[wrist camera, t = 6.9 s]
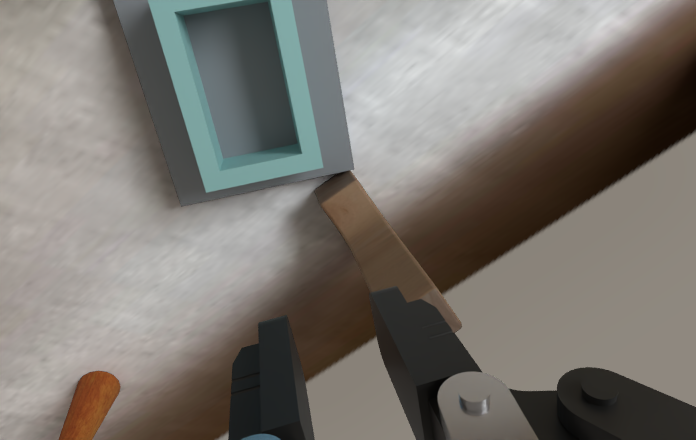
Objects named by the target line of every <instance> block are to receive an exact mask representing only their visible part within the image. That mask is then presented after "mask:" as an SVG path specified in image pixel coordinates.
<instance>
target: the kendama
mask: <svg viewBox="0 0 696 440" xmlns="http://www.w3.org/2000/svg"><path fill="white" fill-rule="evenodd" d="M119 391H120V384H119V381H118V380H117V378H116V377H115V376H114V375H112V374H109V373H107V372H102V371H95V372H90V373H88V374H86V375H84V376H83V377H82V378H81V379H80V380H79V382H78V385H77V388H76V390H75V393H74V396H73V399H72V402H71V405H70V408H69V411H68V414H67V417H66V420H65V422H64V425H63V428H62V431H61V434H60V437H59V440H92V439H93V437H94V435H95V434H96V432H97V430H98V428H99V427H100V425H101V423H102V421H103V420H104V418H105V416H106V415H107V413H108V411H109V409H110V408H111V406H112V404H113V402H114V401H115V399H116V397H117V396H118V394H119Z"/></svg>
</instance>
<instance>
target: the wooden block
mask: <svg viewBox="0 0 696 440" xmlns="http://www.w3.org/2000/svg"><path fill="white" fill-rule="evenodd" d="M315 194H316V196H317V199H318V201H319V204H320V206H321V208H322V209H323V210H324V212H325V213H326V214H327V215H328V217H329V218H330V219H331V221H332V222H333V223H334V225H335V226H336V228H337V229H338V231H339V232H340V233H341V235H342V236H343V238H344V240H345V241H346V243H347V245H348V246H349V248H350V250H351V252H352V254H353V256H354V258H355V260H356V262H357V264H358V267H359V269H360V271H361V273H362V275H363V277H364V279H365V281H366V284H367V286H368V288H369V290H370V292H375V291H378V290H382V289H386V288H389V287H393V286H397V287H398V288H399V290H400V292H401V293H402V295H403V297H404V298H405V300H406V301H407V303H408V302H411V301H415V300H419V299H422V300H424V301H426V302H428V303H429V304H431V305H433V306H435V307H436V308H437V309H438V311H439V312H440V313H441V315H442V316H443V318H444V319H445V322H447V323H448V325H449V326H450V327H451V329H452V331H453V333H455V332H457V331H458V330H459V329H461V327H462V324H461V322H460V320H459V319H458V317H457V316H456V315H455V313H454V312H453V310H452V309H451V307H450V306H449V304H448V303H447V302H446V300H445V299H444V297H443V296H442V294H441V293H440V291H439V290H438V289H437V287H436V286H435V285H434V283H433V282H432V281H431V279H430V278H429V277H428V275H427V274H426V273H425V271H424V270H423V269H422V267H421V266H420V265H419V263H418V262H417V261H416V259H415V258H414V257H413V255H412V254H411V253H410V251H409V250H408V249H407V247H406V246H405V245H404V243H403V242H402V241H401V239H400V238H399V237H398V235H397V234H396V233H395V232H394V230H393V229H392V228H391V226H390V225H389V224H388V222H387V221H386V219H385V218H384V217H383V215H382V214H381V213H380V211H379V210H378V208H377V207H376V206H375V204H374V203H373V201H372V200H371V199H370V197H369V196H368V194H367V193H366V191H365V190H364V189H363V187H362V186H361V184H360V183H359V181H358V180H357V179H356V177H355V176H354V175H353V173H352V172H351V171H350V170H349V171H344V172H340V173H338V174H336V175H335V176H334V177H332V178H331V179H329V180H328V181H327V182H325V183H324V184H323V185H321V186H320V187H318V188H317V189H316V190H315Z"/></svg>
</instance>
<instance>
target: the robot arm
mask: <svg viewBox="0 0 696 440" xmlns="http://www.w3.org/2000/svg"><path fill="white" fill-rule="evenodd" d="M369 297H370V303H371V309H372V314H373V319H374V324H375V329H376V335H377V340H378V344H379V348H380V352H381V355H382V359H383V361H384V364H385V367H386V369H387V371H388V374H389V376H390V378H391V381H392V383H393V385H394V388H395V390H396V393H397V395H398V397H399V400H400V402H401V404H402V407H403V409H404V412H405V414H406V416H407V419H408V421H409V424H410V426H411V428H412V431H413V433H414V435H415V437H416V440H696V407H694V406H692V405H689V404H687V403H685V402H682V401H680V400H678V399H675V398H673V397H671V396H668V395H666V394H664V393H661V392H659V391H657V390H654V389H652V388H650V387H647V386H645V385H643V384H640V383H638V382H635V381H633V380H631V379H629V378H626V377H624V376H621V375H619V374H617V373H614V372H612V371H609V370H605V369H600V368H590V367H586V368H578V369H574V370H571V371H569V372H567V373H565V374H564V375H563V376H562V377H561V378H560V380H559V382H558V385H557V391H517V390H512V389H508V387H507V386H506V385H505V384H504V383H503V382H502V381H500V380H499V379H498V378H496V377H494V376H492V375H489V374H486V373H483V372H482V371H481V370H480V368H479V367H478V365H477V364H476V363H475V361H474V360H473V358H472V357H471V356H470V354H469V353H468V351H467V350H466V349H465V347H464V346H463V344H462V343H461V342H460V340H459V339H458V337H457V336H456V335H455V333H453V331H452V329H451V327H450V326H449V325H448V323H447V322H445V319H444V318H443V316H442V315H441V313H440V312H439V311H438V309H437V308H436V307H435V306H433V305H431V304H429V303H428V302H426V301H424V300H422V299H419V300H415V301H411V302H408V303H407V301H406V300H405V298H404V297H403V295H402V293H401V292H400V290H399V288H398V287H397V286H393V287H389V288H386V289H382V290H378V291H375V292H371V293H369ZM258 331H259V343H258V344H255V345H251V346H247V347H244V348H242V349H241V350H240V352H239V354H238V356H237V357H236V359H235V361H234V363H233V368H232V386H231V395H232V396H231V404H230V421H229V439H228V440H314V433H313V427H312V421H311V415H310V408H309V402H308V396H307V390H306V384H305V379H304V375H303V370H302V366H301V363H300V359H299V355H298V352H297V348H296V345H295V341H294V338H293V334H292V330H291V327H290V323H289V320H288V317H287V315H285V316H281V317H278V318H274V319H270V320H267V321H263V322H259V324H258Z"/></svg>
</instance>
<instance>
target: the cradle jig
mask: <svg viewBox="0 0 696 440" xmlns="http://www.w3.org/2000/svg"><path fill="white" fill-rule="evenodd" d="M113 1H114V4H115V8H116V11H117V14H118V17H119V20H120V23H121V26H122V29H123V32H124V35H125V38H126V41H127V44H128V47H129V50H130V53H131V56H132V59H133V62H134V65H135V68H136V71H137V74H138V77H139V80H140V83H141V86H142V89H143V92H144V95H145V98H146V101H147V104H148V107H149V110H150V113H151V116H152V120H153V123H154V126H155V129H156V132H157V135H158V138H159V141H160V144H161V147H162V150H163V153H164V156H165V159H166V162H167V165H168V168H169V171H170V174H171V177H172V180H173V183H174V186H175V189H176V192H177V195H178V198H179V201H180V204H181V207H182V206H186V205H191V204H196V203H200V202H205V201H210V200H214V199H219V198H224V197H228V196H233V195H238V194H242V193H247V192H251V191H256V190H261V189H265V188H270V187H275V186H279V185H284V184H289V183H293V182H298V181H303V180H307V179H312V178H316V177H321V176H326V175H330V174H335V173H340V172H344V171H349V170H354V164H353V158H352V152H351V146H350V140H349V134H348V128H347V122H346V116H345V109H344V103H343V97H342V91H341V85H340V79H339V73H338V67H337V61H336V55H335V49H334V43H333V37H332V30H331V24H330V18H329V12H328V6H327V0H113Z"/></svg>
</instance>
